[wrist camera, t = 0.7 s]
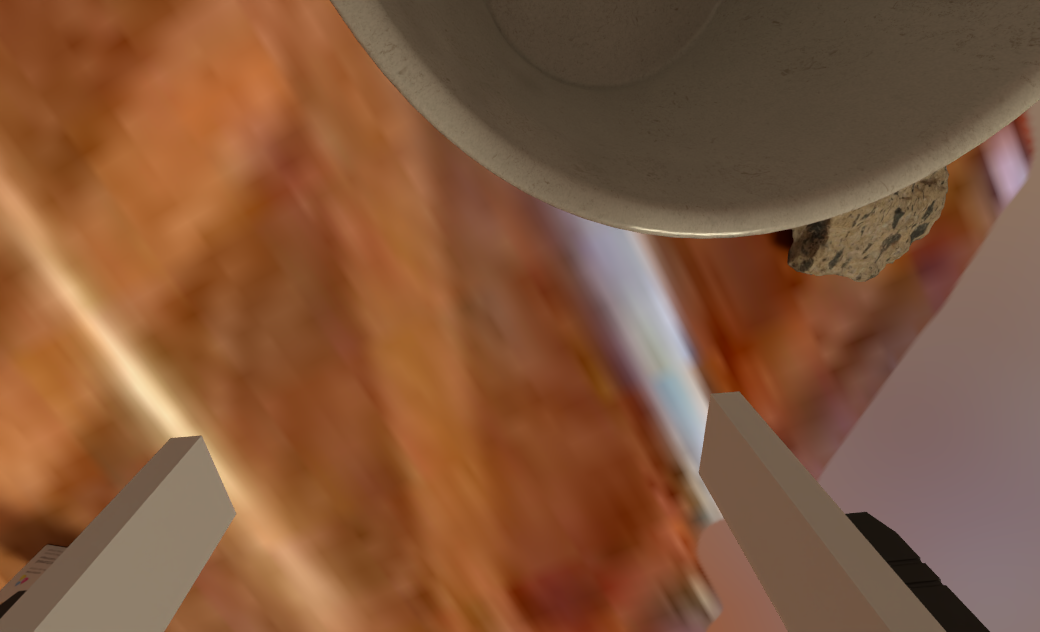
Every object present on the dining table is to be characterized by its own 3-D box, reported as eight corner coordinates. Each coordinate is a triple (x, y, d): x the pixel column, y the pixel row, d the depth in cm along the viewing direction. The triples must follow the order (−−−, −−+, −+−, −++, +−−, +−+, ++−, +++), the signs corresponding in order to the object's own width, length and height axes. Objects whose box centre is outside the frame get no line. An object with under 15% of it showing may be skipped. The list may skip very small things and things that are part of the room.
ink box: (136, 557, 49) (38, 682, 38) (135, 586, 51) (41, 714, 40) (45, 542, 48) (-84, 668, 37) (47, 573, 49) (-75, 702, 39)
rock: (889, 270, 41) (932, 289, 37) (764, 263, 40) (795, 281, 36) (948, 137, 36) (1005, 141, 32) (808, 125, 35) (849, 128, 31)
